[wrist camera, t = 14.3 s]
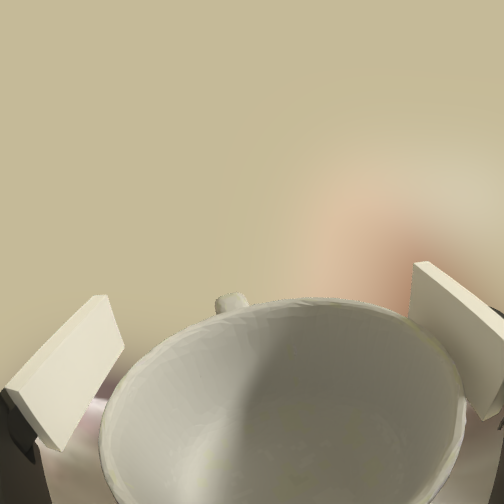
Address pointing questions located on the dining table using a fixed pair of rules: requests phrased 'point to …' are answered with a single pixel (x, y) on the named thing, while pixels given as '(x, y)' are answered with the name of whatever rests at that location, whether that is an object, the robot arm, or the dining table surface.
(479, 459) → the dining table surface
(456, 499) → the dining table surface
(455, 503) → the dining table surface
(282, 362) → the teacup
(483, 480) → the dining table surface
